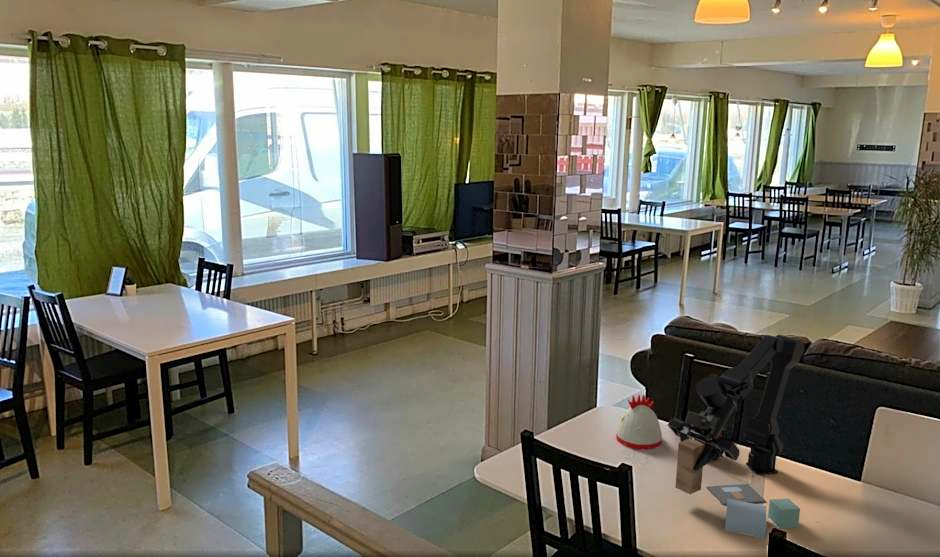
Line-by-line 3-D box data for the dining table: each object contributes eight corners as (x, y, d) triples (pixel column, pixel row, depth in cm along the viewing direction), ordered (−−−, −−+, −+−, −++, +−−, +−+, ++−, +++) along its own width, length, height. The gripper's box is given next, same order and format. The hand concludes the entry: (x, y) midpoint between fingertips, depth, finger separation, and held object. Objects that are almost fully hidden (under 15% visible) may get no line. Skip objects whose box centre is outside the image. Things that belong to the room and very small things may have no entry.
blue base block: (726, 513, 179) (727, 498, 178) (764, 520, 175) (765, 506, 174) (724, 531, 170) (726, 516, 170) (764, 539, 167) (766, 524, 166)
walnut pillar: (686, 482, 184) (689, 438, 182) (700, 489, 181) (704, 444, 178) (675, 487, 182) (678, 442, 179) (689, 494, 178) (693, 449, 175)
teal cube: (786, 516, 177) (788, 498, 176) (797, 527, 172) (800, 508, 171) (767, 517, 176) (769, 499, 175) (779, 528, 171) (781, 509, 170)
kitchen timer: (610, 431, 226) (613, 387, 223) (651, 430, 228) (654, 386, 225) (624, 450, 213) (627, 404, 210) (668, 448, 214) (671, 402, 211)
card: (747, 485, 192) (747, 483, 192) (765, 502, 183) (765, 500, 183) (706, 487, 191) (706, 486, 190) (722, 504, 182) (722, 503, 182)
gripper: (674, 389, 186) (644, 438, 182) (736, 411, 171) (705, 465, 167) (691, 410, 192) (662, 458, 188) (752, 433, 177) (722, 486, 173)
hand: (686, 466), depth 179 cm, fingers closed on walnut pillar, 4 cm apart
